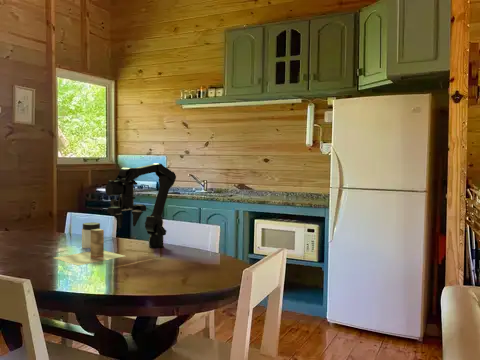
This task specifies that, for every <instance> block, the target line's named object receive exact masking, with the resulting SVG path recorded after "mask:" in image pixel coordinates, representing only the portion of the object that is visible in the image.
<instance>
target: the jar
mask: <svg viewBox="0 0 480 360" xmlns="http://www.w3.org/2000/svg"><path fill="white" fill-rule="evenodd" d="M93 229H101V223H100V222H94V221H93V222H84V223H82V228H81V248H82V249H91V230H93Z"/></svg>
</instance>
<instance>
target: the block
mask: <svg viewBox="0 0 480 360" xmlns="http://www.w3.org/2000/svg"><path fill="white" fill-rule="evenodd" d="M104 234H105V231H104V229H101V228H100V229H93V230H91V248H90V251H91V257H94V258H98V257H104V251H105V250H104V247H105V242H104V240H105V239H104V238H105V237H104V236H105V235H104Z"/></svg>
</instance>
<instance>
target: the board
mask: <svg viewBox="0 0 480 360" xmlns="http://www.w3.org/2000/svg"><path fill="white" fill-rule="evenodd" d="M124 257H125V255H124V254H119V253H115V252H112V251H111V252H110V251H107V250H104V257H98V258H94V257H91V250H90V251H83V252H79V253H73V254H67V255H61V256H56V257H53V259H54V260H58V261H62V262H65V263H69V264H72V265H75V266H83V265H89V264H92V263H98V262H103V261H108V260H114V259H118V258H124Z"/></svg>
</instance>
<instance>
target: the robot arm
mask: <svg viewBox="0 0 480 360" xmlns="http://www.w3.org/2000/svg"><path fill="white" fill-rule="evenodd" d="M153 173H155V176H157V178H158V185H159V188H158V193H157V195H156V198H155V202H154V206H153V209H152V212H151V214H150V216H149V215H147V216H146V218H145V222H144V228H145V231H146V232H147V235H149V237H148V246H149V247H150V248H151V249H155V248H156V249H157V248H165V246H164V236H166V234H167V230H166V229H165V227H163V225H164V224H163V223H164V221H163V220H164V219H163V216H162V215H163V212H164V209H165V205H166V202H167V198H168V195H169V192H170V189H171V188H172V187H173V186H174V184H175V182H176V180H177V175H176V173H175V171H172V170H171V169H169V168H167V167H166V166H165V165H163V164H162V163H156V162H154V163H152V164H148V165H147V164H146V165H142V166H138V167H122V168H119V171H118V175H116V177H115V179H114V180H108V181H107V184H106V185H105V188H104V190H105V194H106V196H108V197H111V196H119V197H118V199H116V198H114V199H113V198H112V199H110V202H109V203H110V206H108V208H107V210H106V213H107V214H110V215H111V216H113V217H114V218H115V220H116V223H117V226H118V228H119V229H122V227H123V219H124V214H123V213H122V212H130V213H131V215H132V227H136V226H137V223H138V221H139V219H140V217H141V215H142V214H143V213H144V212H146V211H147V205H145V204H134V200H136V196H134V195H135V193H134V186H135V185H138V182H137V181H136V179H138V178H139V177H141V176H144V175H148V174H153Z"/></svg>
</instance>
